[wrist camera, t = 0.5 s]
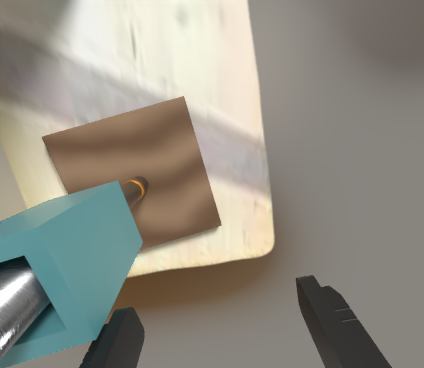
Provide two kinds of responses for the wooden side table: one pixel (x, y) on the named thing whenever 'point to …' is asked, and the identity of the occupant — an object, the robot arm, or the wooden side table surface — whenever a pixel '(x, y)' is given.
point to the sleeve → (71, 265)
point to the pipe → (36, 284)
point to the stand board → (143, 167)
